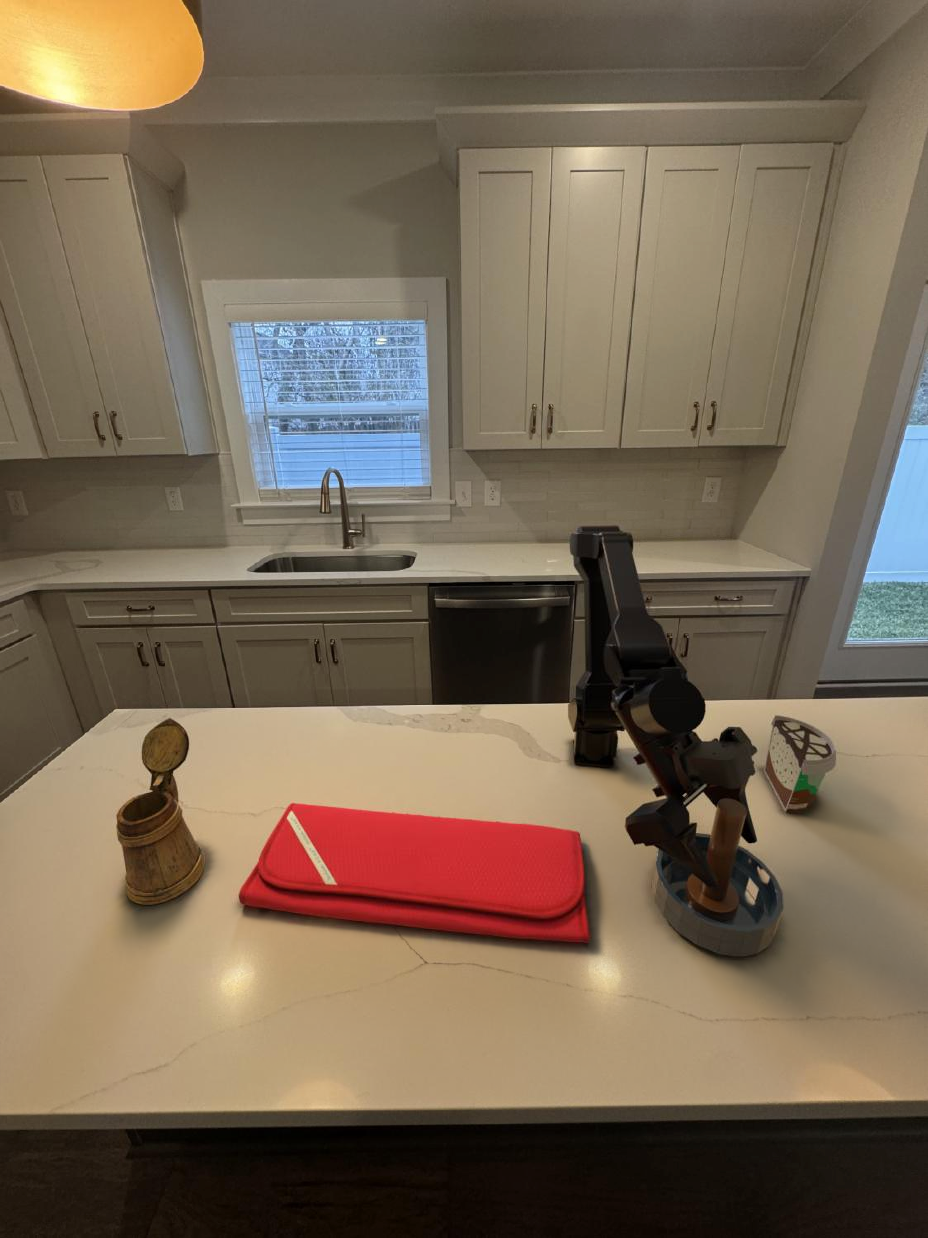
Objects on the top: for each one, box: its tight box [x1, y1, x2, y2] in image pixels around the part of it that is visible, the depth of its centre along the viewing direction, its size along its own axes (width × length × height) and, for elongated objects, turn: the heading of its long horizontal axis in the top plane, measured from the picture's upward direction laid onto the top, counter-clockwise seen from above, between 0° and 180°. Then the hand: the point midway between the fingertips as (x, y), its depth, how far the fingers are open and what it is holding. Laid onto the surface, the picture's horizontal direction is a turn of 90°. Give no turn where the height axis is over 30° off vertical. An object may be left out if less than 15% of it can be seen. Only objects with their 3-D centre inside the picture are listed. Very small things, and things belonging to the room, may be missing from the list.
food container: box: [763, 714, 837, 814], centre depth 75 cm, size 12×6×10 cm, turn 168°
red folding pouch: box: [238, 802, 591, 944], centre depth 64 cm, size 16×41×4 cm, turn 83°
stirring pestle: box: [685, 798, 747, 921], centre depth 57 cm, size 6×6×14 cm
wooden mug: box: [115, 717, 206, 906], centre depth 64 cm, size 9×14×18 cm, turn 1°
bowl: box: [651, 832, 784, 958], centre depth 59 cm, size 13×13×4 cm
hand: (734, 863), depth 56 cm, fingers open, 9 cm apart
